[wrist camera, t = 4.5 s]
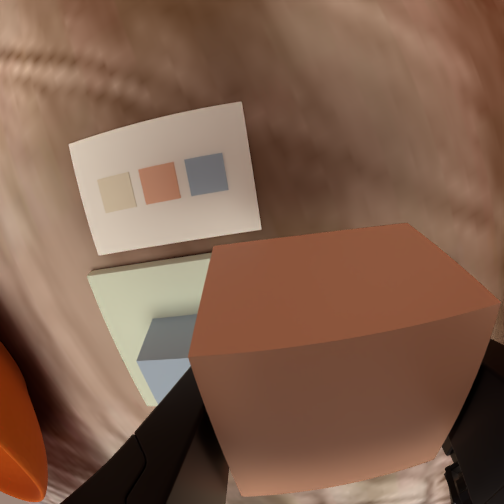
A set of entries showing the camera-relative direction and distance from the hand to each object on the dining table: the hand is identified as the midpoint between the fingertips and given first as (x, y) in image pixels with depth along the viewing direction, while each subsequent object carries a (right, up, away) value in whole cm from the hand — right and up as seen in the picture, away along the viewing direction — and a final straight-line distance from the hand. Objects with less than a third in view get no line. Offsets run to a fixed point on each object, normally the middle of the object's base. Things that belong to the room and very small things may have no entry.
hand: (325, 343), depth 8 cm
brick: (0, +1, +1) cm, 1 cm away
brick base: (-5, -4, +12) cm, 14 cm away
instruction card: (-7, +6, +9) cm, 13 cm away
